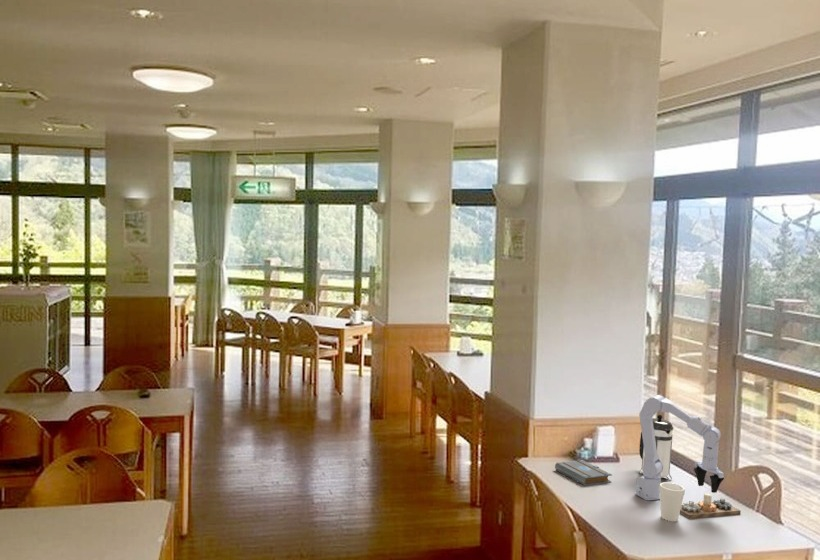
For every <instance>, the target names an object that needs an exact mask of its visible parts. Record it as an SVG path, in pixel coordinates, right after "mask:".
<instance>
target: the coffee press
mask: <svg viewBox="0 0 820 560" xmlns="http://www.w3.org/2000/svg"><path fill="white" fill-rule="evenodd" d="M652 420H653V427H654V434H655V441H656V448H657V454H658V455H659V457H660V461H661V462H662V464H663V470H662V472H660V475H661V479H663V478H666V479H667V480H668V479H671V480H672V477H673V476H672V475H671V459H672V457H671V456H672V445H673V431H674V429H675V428H674V426H673V423H671V422H670V421H669V420H667V419H663V415H662V414H658V415H657V418H653V417H652ZM639 456H640V459H641V469H640V470H641V471H642V473H641V471H638V474H639V475H642V474H643V466H644V457H645V452H644V444H643V437H642V431H641V432H640V438H639Z"/></svg>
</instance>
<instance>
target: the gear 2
mask: <svg viewBox="0 0 820 560" xmlns="http://www.w3.org/2000/svg"><path fill="white" fill-rule="evenodd" d="M712 502H713V504H715V505H716V508H717V507H718V508H719V509H725V510H727V509H729V510H730V509H731V506H732V503H731V502H728V501H726V499H724V498H720V499H717V500H716V499H715V500H713V501H712Z"/></svg>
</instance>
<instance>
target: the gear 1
mask: <svg viewBox="0 0 820 560" xmlns="http://www.w3.org/2000/svg"><path fill="white" fill-rule="evenodd" d="M695 504H696V503H695V502H694V501H693V500H691V501H688V502H687V501H686V502H682V508H683V510H687V511H688V512H690V511H691V512H693V513H696V512H700V508H701V507H699V505H695Z"/></svg>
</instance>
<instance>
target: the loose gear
mask: <svg viewBox="0 0 820 560" xmlns="http://www.w3.org/2000/svg"><path fill="white" fill-rule="evenodd" d="M712 498H713V495H712V494H709V493H704V494H703V500H702V501H698V502H697V503H698V505H699V507H701V508H700V509H703V510H705V511H706V510H708V511H715V510H716V505H715V504H713V503H711V502H712Z"/></svg>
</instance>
